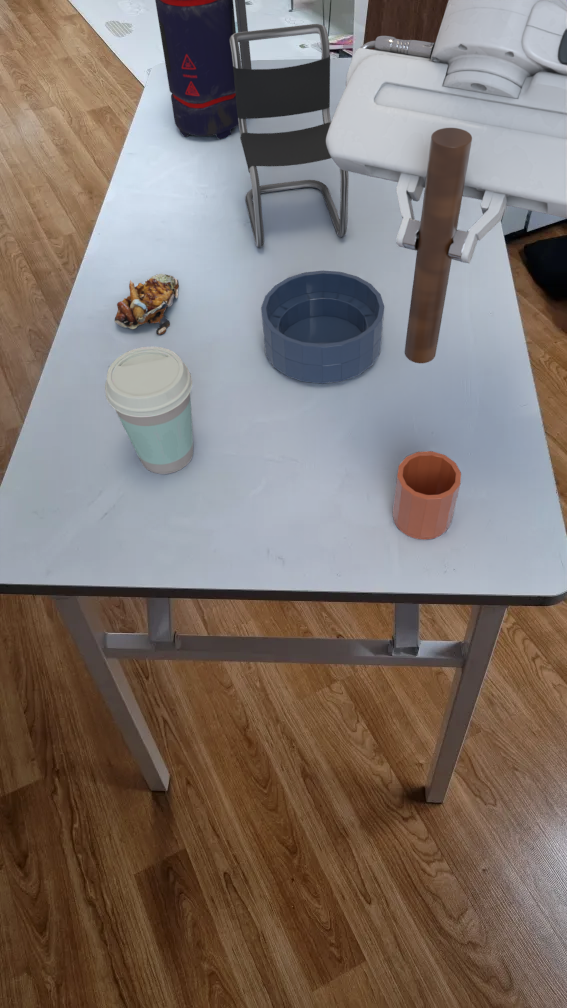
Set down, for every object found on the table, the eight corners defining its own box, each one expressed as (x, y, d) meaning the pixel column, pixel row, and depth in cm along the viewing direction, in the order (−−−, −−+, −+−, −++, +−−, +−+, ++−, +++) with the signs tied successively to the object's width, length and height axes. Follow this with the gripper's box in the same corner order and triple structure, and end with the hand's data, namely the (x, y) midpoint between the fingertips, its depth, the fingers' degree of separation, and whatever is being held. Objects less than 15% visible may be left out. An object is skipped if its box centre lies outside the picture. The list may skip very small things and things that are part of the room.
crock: (452, 496, 73) (462, 454, 68) (449, 544, 70) (459, 503, 65) (395, 489, 74) (401, 447, 69) (389, 536, 71) (394, 495, 66)
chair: (324, 182, 112) (324, 21, 95) (348, 244, 102) (352, 75, 84) (242, 192, 112) (227, 32, 94) (257, 256, 101) (243, 88, 84)
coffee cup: (217, 434, 80) (203, 351, 71) (186, 492, 75) (166, 410, 66) (148, 419, 82) (125, 335, 73) (114, 474, 77) (84, 392, 68)
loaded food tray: (185, 279, 98) (181, 255, 96) (166, 336, 91) (161, 312, 88) (135, 277, 99) (130, 254, 96) (112, 333, 92) (106, 310, 89)
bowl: (386, 315, 92) (390, 275, 87) (373, 392, 83) (376, 352, 78) (277, 306, 94) (275, 266, 89) (253, 380, 85) (249, 340, 81)
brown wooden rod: (436, 344, 61) (472, 128, 47) (434, 365, 60) (471, 148, 45) (406, 341, 62) (432, 126, 47) (403, 361, 60) (429, 145, 46)
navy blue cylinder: (166, 140, 123) (129, -79, 99) (187, 108, 130) (157, -104, 106) (244, 145, 121) (225, -78, 97) (261, 113, 128) (247, -103, 104)
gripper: (348, 8, 50) (290, 209, 53) (657, 51, 44) (574, 277, 46) (369, 54, 56) (316, 233, 59) (644, 98, 50) (571, 296, 52)
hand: (432, 253), depth 52 cm, fingers closed on brown wooden rod, 2 cm apart
